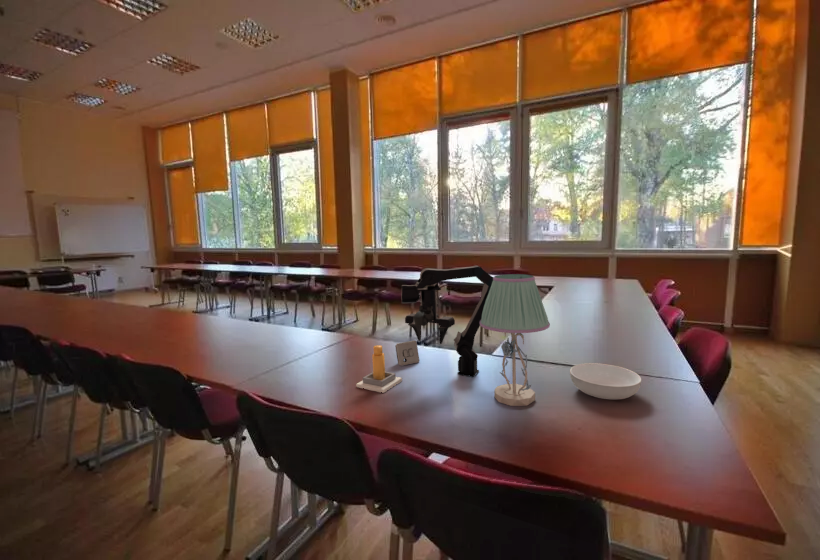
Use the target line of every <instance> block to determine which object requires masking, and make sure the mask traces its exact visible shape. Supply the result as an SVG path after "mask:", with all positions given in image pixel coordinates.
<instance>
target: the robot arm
mask: <svg viewBox="0 0 820 560" xmlns="http://www.w3.org/2000/svg"><path fill="white" fill-rule="evenodd" d="M465 278H466V279H468V278H476V279H478V281H480V282H481V283H482V284H483V286H482V290H481V296H480V299H479V301H478V303H477V305H476V307H475V309H474V311H473V313H472V315H471V317H470V319H469V321H468V323H467V325H466V327H465V328H464V330H463V331H462V332H461V331H459V330H458V331H457V334H456V336H455V338H454V339H453V347H454V349H455V351H456V354H457V355H459V357H458V360H457V371H458V372H457V375H460V376H461V375H462V376H466V377H467V376H468V377H475V376H476V375H477V374H478V373H479V372H480V370H479V369H478V357H479V355H478V353H477V352H476V351H475V349H474V348H473V347H474V344H475V338H476V335H477V332H478V330H479V328H480V327H481V326H480V320H481V319H482V312H483V308H484V305H485V302H486V299H487V296H488V294H489V291H490V288H491V285H492V282H493V278H494V276H492V275H491V274H490V273H488V272H487V271H485V270H484V269H483V268H482V267H481V266H479V265H473V266H466V267H456V268H446V269H440V268H429V267H426V268H423V269H422V270H421V271H420V273H419V278H418V280H417V281H416V283H415V284H411V285H407V284H402V285H401V293H400V294H401V295H400V296H401V304H411V303H413V304H415V303H417V302H418V301H419V300H420V299H421V300H420V303H421V304H420V305H419V309H418V311H417V312H416V313H410V314H407V315H406V316H405V318H404V323H405V324H407V325H408V326H409V327H411V328H412V329H413V331H414V334H415V335H416V339H417V342H421V340H422V327H425V326H427V325H428V324H438V326H439V327H437V329H438V331H439V344H440V345H441V344H443V342H444V339H445V336H446V334H447V333H448V330H449V328H451V327H452V326H454V325H455V324H456V322H455V321H456V319H455V318H454V317H453V316H445V315H444V316H442V317H441V318H439V314H438V313H437V312H438V311H437V310H438V308H437V307H439V303H437V291H441V290H442V288H441V287H440V286H439V283H442V282H444V281H448V280H449V281H450V280H459V279H465Z"/></svg>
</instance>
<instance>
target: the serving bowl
mask: <svg viewBox="0 0 820 560" xmlns="http://www.w3.org/2000/svg"><path fill="white" fill-rule="evenodd" d="M569 375H570V379H571V382H572V383H573V384H574V386H575V388H577V389H578V390H579V391H580V392H581V393H584V394H586V395H588V396H591V397H594V398H598V399H603V400H615V401H616V400H624V399H628V398H631V397H632V396H634V395H635V394H637V392H639V390H640V387H641V384H642V380H643V379H642V377H641V376H640V375H639V374H638V373H636V372H635V371H632V370H630V369H627V368H626V367H622V366H618V365H613V364H605V363H599V362H598V363H595V362H594V363H593V362H591V363H589V362H588V363H579V364H575V365H573V366H571V368H570V369H569Z"/></svg>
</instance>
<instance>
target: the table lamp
mask: <svg viewBox="0 0 820 560" xmlns="http://www.w3.org/2000/svg"><path fill="white" fill-rule="evenodd" d="M493 277H494V278H493V282H492V285H491V288H490V291H489V294H488V296H487V299H486V302H485V305H484V308H483V312H482V319H481V320H480V327H481V328H482V329H485V330H488V331H492V332H493V331H494V332H499V333H504V336H505V338H506V337H507V334H510V337H511V340H510V339H509V337H507V338H506V341H504V342H502V345H501V349H502V350H501V351H502V353H503V358H502V364H501V365H502V371H499V374H500V375H501V376H502V377H503V378H504V379H505V381H506V383H505V384H502V385H497V386H496V387H495V388H494V392H493V393H494V397H493V398H495V400H496V401H497V402H498V403H501V404H504V405H507V406H510V407H517V406H518V407H520V406H525V407H526V406H528V405H530V404H532V403H533V402H535V401H536V391H534V390H533V389H532V388H531V386H532V384H529V381H528V371H527V366H528V357H527V356H528V355H527V354H525V353H524V352H523V350H521V348H520V347H519V345H518V340H517V339H518V338H517V337H518V336H519V337H521V339H522V345H524V344H525V339H524V338H525V337H524V336H525V335H524V334H528V333H529V334H530V333H538V332H541V331H545V330H548V329H549V328H550V326H551V324H550V321H549V317H548V315H547V312H546V310H545V306H544V303H543V300H542V297H541V295H540V292H539V289H538V285H537V283H536V278H535V275H532V274H525V273H524V274H523V273H522V274H521V273H520V274H519V273H516V274H515V273H512V274H511V273H508V274H498V275H494V276H493ZM516 353H517V355H518V357H519V359H520V362H521V364H522V367H521V368H520V369H521V371H522V375H523V376H524V381H523V385H522V384H519V383H517V371H516V370H517V369H516V368H517V367H516V366H517V365H516V364H517V363H516ZM522 355H523V356H524V357H525V360H524V359H523V356H522ZM508 357H510V358H511V359H512V360H511V361H512V362H511V364H512V365H511V366H512V368H511V371H512V373H511V374H512V383H510V380H509V379H508V377H507V374H506V369H505V368H506V367H507V365H508V363H509V361H508V359H507V358H508Z"/></svg>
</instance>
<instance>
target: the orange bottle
mask: <svg viewBox="0 0 820 560" xmlns="http://www.w3.org/2000/svg"><path fill="white" fill-rule="evenodd" d="M372 349H373V353H372V355H371V357H372V359H371V360H372V372H373V379H377V380H381V381H382V380H383V379H385V372H386V364H385V361H386V360H385V353H384V352H383V345H380V344H379V345H374V346H373V348H372Z"/></svg>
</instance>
